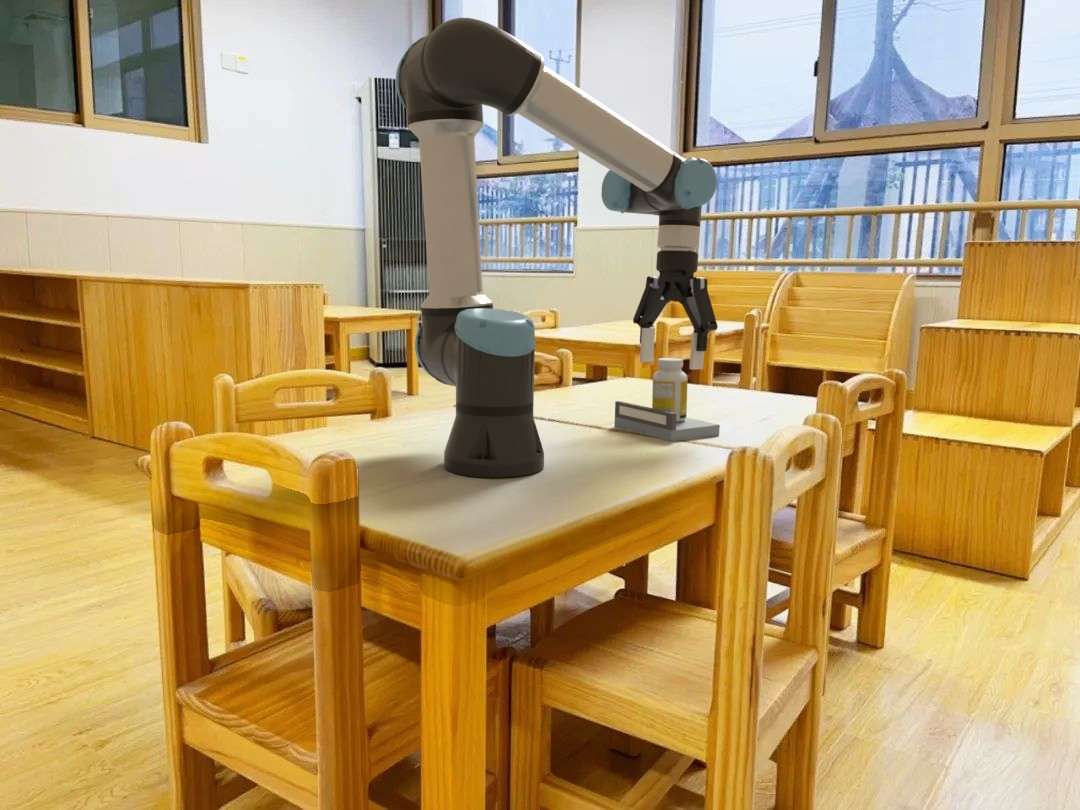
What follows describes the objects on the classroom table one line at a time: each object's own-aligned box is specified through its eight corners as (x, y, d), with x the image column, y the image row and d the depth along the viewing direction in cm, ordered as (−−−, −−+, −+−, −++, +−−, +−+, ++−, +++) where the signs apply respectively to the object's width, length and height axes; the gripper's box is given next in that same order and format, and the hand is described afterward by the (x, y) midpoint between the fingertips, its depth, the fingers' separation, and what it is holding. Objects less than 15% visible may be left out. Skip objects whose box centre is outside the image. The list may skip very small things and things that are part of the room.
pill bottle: (683, 417, 157) (685, 357, 155) (688, 423, 151) (690, 361, 149) (650, 416, 157) (651, 357, 156) (653, 422, 151) (655, 360, 149)
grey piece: (670, 441, 144) (671, 413, 143) (613, 426, 157) (614, 401, 156) (719, 435, 151) (720, 408, 150) (660, 421, 164) (662, 397, 163)
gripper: (743, 250, 141) (734, 372, 144) (648, 252, 161) (642, 358, 164) (712, 248, 137) (703, 373, 140) (619, 250, 157) (613, 359, 160)
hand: (670, 365), depth 152 cm, fingers open, 13 cm apart
